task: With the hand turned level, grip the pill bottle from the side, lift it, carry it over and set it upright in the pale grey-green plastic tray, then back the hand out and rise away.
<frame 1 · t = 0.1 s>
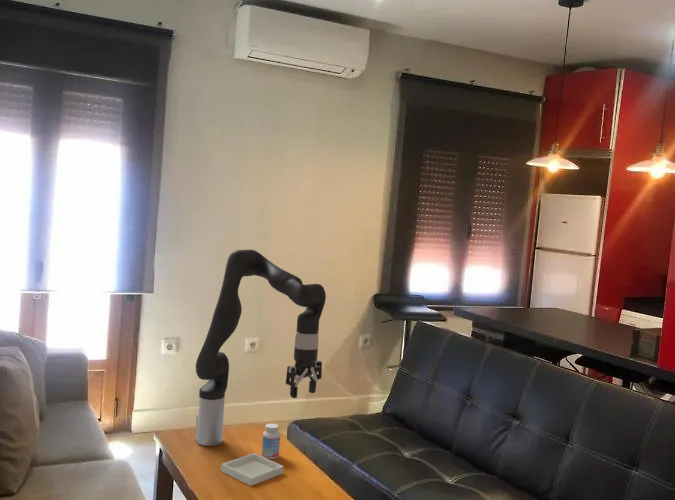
hand: (302, 395, 225), 29 cm above the table, tool pointing down, fingers open, 8 cm apart
pill bottle: (270, 456, 247), on the table
tray: (252, 472, 233), on the table
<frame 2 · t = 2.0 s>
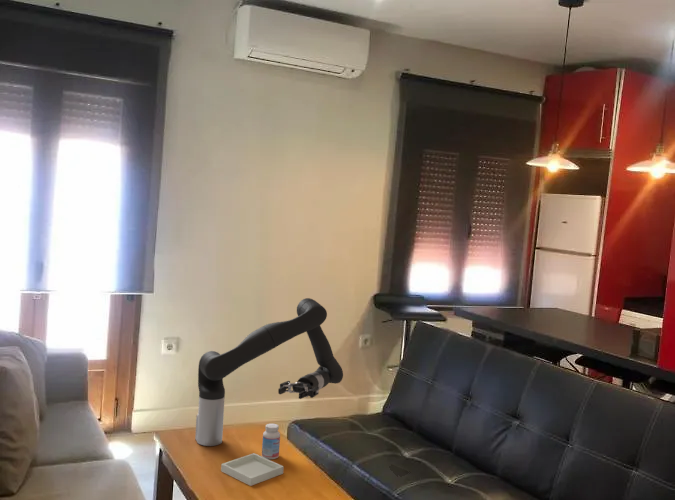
hand: (289, 393, 255), 20 cm above the table, tool horizontal, fingers open, 8 cm apart
nothing on the table moved.
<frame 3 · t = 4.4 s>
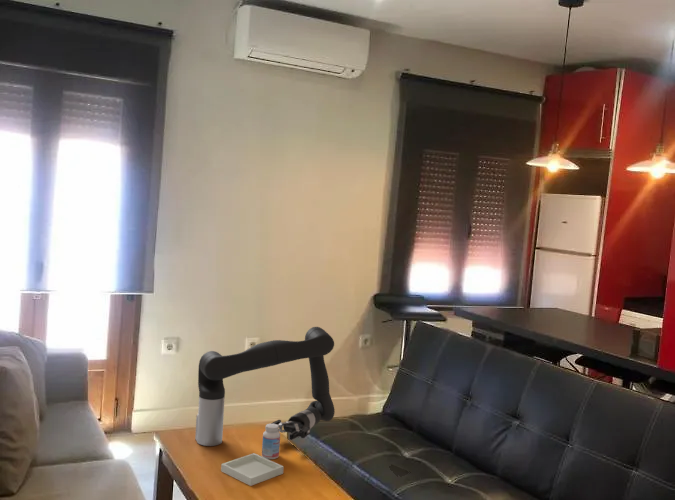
hand: (280, 434, 252), 6 cm above the table, tool horizontal, fingers open, 8 cm apart
nothing on the table moved.
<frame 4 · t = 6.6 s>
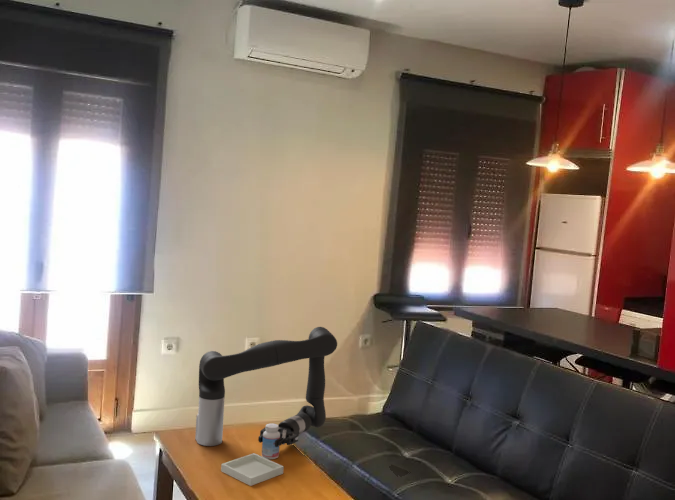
hand: (267, 441, 244), 6 cm above the table, tool horizontal, fingers closed on pill bottle, 6 cm apart
pill bottle: (270, 456, 247), on the table, touching gripper
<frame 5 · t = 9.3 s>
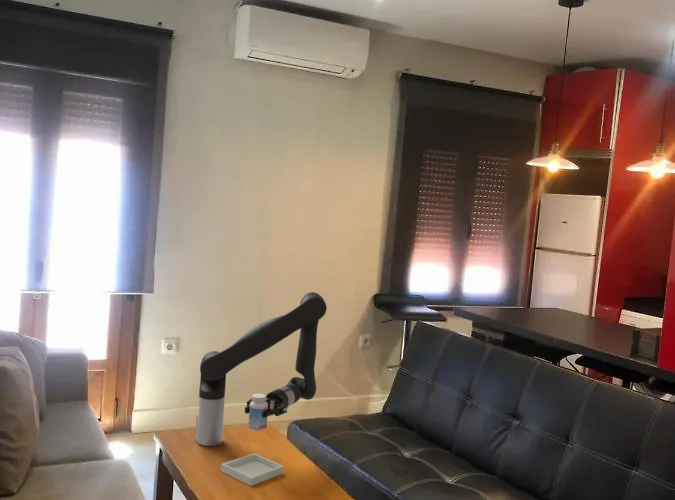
hand: (254, 412, 230), 21 cm above the table, tool horizontal, fingers closed on pill bottle, 6 cm apart
pill bottle: (257, 428, 233), point 15 cm above the table, touching gripper
when the fingers open (8 cm above the table, at t = 12.5 s): pill bottle drops 1 cm, resting on tray.
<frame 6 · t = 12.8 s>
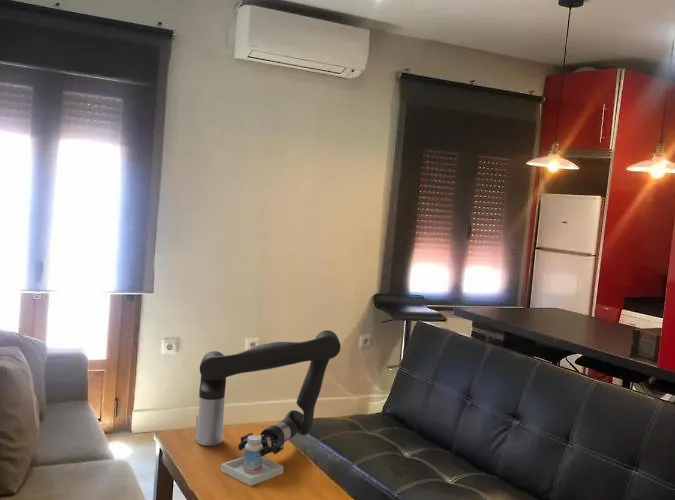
hand: (250, 450, 230), 8 cm above the table, tool horizontal, fingers open, 8 cm apart
pill bottle: (252, 470, 233), point 1 cm above the table, touching tray
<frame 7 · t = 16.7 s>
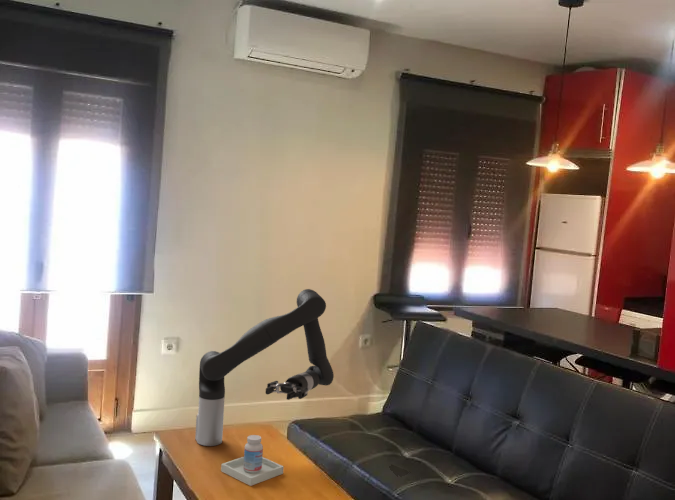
hand: (277, 394, 244), 23 cm above the table, tool horizontal, fingers open, 8 cm apart
nothing on the table moved.
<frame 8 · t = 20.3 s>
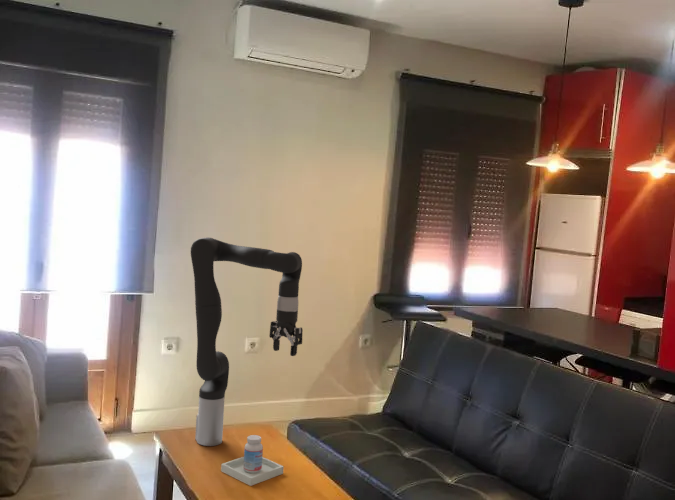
hand: (284, 353, 249), 36 cm above the table, tool pointing down, fingers open, 8 cm apart
nothing on the table moved.
at the end: pill bottle inside the target area on the tray (0.1 cm from its centre), point 0.6 cm above the tray's base; pill bottle tilted 0°; the gripper is holding nothing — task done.
